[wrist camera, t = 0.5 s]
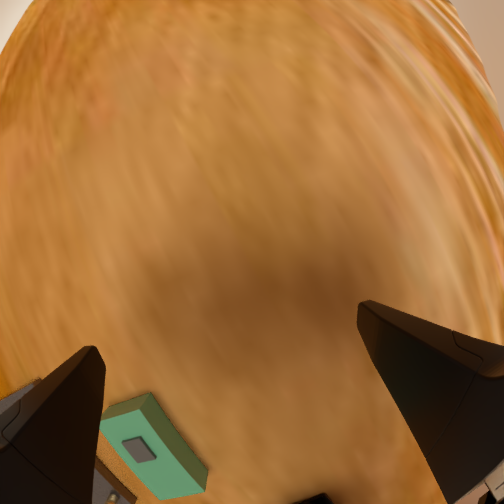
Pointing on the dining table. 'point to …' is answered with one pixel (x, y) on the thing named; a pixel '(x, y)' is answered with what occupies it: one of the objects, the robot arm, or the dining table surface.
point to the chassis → (105, 483)
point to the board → (153, 448)
